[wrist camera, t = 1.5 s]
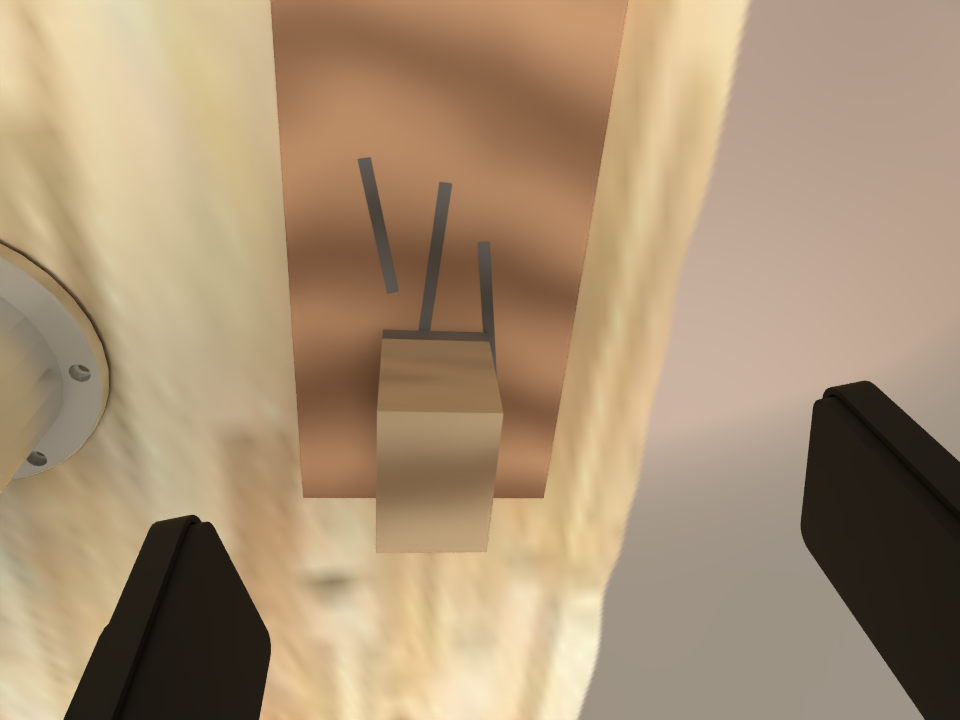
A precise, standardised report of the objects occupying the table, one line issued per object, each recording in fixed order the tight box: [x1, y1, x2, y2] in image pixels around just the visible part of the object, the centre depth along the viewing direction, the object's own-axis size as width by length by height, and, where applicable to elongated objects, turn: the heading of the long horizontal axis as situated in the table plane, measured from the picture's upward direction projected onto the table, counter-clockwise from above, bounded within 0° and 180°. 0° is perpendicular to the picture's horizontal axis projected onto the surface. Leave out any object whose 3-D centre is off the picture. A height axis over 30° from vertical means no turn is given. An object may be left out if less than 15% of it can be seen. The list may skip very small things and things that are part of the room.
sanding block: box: [376, 329, 503, 553], centre depth 29 cm, size 7×4×6 cm, turn 176°
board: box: [271, 0, 628, 498], centre depth 29 cm, size 24×12×2 cm, turn 176°
